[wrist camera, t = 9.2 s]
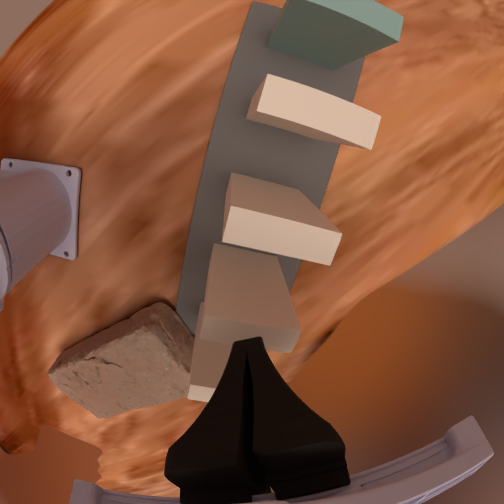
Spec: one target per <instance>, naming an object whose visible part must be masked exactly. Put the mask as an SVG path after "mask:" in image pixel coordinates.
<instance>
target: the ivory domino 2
mask: <svg viewBox="0 0 504 504" xmlns="http://www.w3.org/2000/svg"><path fill="white" fill-rule="evenodd" d="M246 119H247V120H251V121H255V122H259V123H263V124H266V125H270V126H273V127H277V128H280V129H284V130H287V131H290V132H294V133H297V134H300V135H303V136H306V137H309V138H312V139H317V140H322V141H328V142H334V143H339V144H344V145H349V146H354V147H359V148H363V149H368V150H372V147H373V144H374V140H375V137H376V134H377V130H378V127H379V123H380V120H381V116H380V115H377V114H375V113H373V112H371V111H369V110H367V109H364V108H362V107H360V106H358V105H355V104H353V103H351V102H348V101H346V100H343V99H341V98H338V97H336V96H333V95H331V94H328V93H325V92H323V91H320V90H317V89H315V88H312V87H309V86H306V85H303V84H300V83H297V82H294V81H291V80H287V79H284V78H281V77H277V76H274V75H270V74H267V75H266V77H265V78H264V80H263V81H262V83H261V84H260V86H259V88H258V89H257V91H256V92H255V94H254V95H253V97H252V99H251V103H250V106H249V110H248V113H247V117H246Z"/></svg>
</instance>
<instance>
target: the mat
mask: <svg viewBox="0 0 504 504" xmlns="http://www.w3.org/2000/svg"><path fill="white" fill-rule="evenodd" d="M281 11H282V8H279V7H275V6H271V5H267V4H263V3H259V2H255V1H253V2H252V5H251V8H250V10H249V13H248V16H247V19H246V22H245V25H244V27H243V30H242V33H241V36H240V39H239V42H238V45H237V48H236V51H235V54H234V58H233V61H232V64H231V67H230V70H229V74H228V77H227V80H226V84H225V87H224V90H223V94H222V97H221V101H220V104H219V108H218V112H217V115H216V119H215V123H214V127H213V130H212V134H211V138H210V142H209V146H208V150H207V154H206V158H205V162H204V166H203V171H202V175H201V179H200V184H199V188H198V193H197V197H196V202H195V206H194V211H193V216H192V221H191V226H190V231H189V236H188V241H187V246H186V252H185V257H184V263H183V269H182V274H181V280H180V286H179V293H178V299H177V305H176V313H177V315H178V316H179V317H180V318H181V320H182V322H183V324H184V325H185V326H186V327H187V330H189V331H190V333H191V334H193V335H195V333H196V326H197V319H198V314H199V309H200V304H201V302H204V299H205V292H206V284H207V277H208V270H209V263H210V258H211V254H212V249H213V245H214V243H217V244H221V245H226V246H230V247H235V248H240V249H244V250H249V251H253V252H258V253H262V254H267V255H272V256H276V257H277V258H278V261H279V264H280V267H281V270H282V273H283V276H284V279H285V282H286V285H287V288H288V291H289V292H290V289H291V287H292V284H293V281H294V279H295V276H296V273H297V271H298V268H299V265H300V263H301V260H302V259H298V258H293V257H289V256H284V255H280V254H275V253H271V252H266V251H262V250H257V249H253V248H248V247H244V246H239V245H235V244H230V243H225V242H222V234H223V222H224V210H225V199H226V191H227V187H228V184H229V180H230V176H231V172H233V173H237V174H241V175H245V176H249V177H253V178H257V179H261V180H265V181H269V182H273V183H276V184H280V185H284V186H287V187H291V188H294V189H298V190H300V191H301V192H302V193H303V194H304V195H305V196H306V197H307V198H308V199H309V200H310V201H311V202H312V203H313V204H314V205H315V206H316V207H317V208H318V209H320V206H321V203H322V200H323V197H324V194H325V191H326V188H327V185H328V182H329V179H330V176H331V173H332V170H333V166H334V163H335V160H336V157H337V154H338V150H339V147H340V144H339V143H334V142H328V141H322V140H317V139H312V138H309V137H306V136H303V135H300V134H297V133H294V132H290V131H287V130H284V129H280V128H277V127H273V126H270V125H266V124H263V123H259V122H255V121H251V120H247V119H246V117H247V113H248V110H249V106H250V103H251V99H252V97H253V95H254V94H255V92H256V91H257V89H258V88H259V86H260V84H261V83H262V81H263V80H264V78H265V77H266V75H267V74H270V75H274V76H277V77H281V78H284V79H287V80H291V81H294V82H297V83H300V84H303V85H306V86H309V87H312V88H315V89H317V90H320V91H323V92H325V93H328V94H331V95H333V96H336V97H338V98H341V99H343V100H346V101H348V102H351V103H353V99H354V96H355V92H356V89H357V85H358V81H359V77H360V74H361V70H362V66H363V62H364V58H365V56H364V57H362V58H359V59H357V60H355V61H353V62H351V63H349V64H346V65H344V66H342V67H340V68H338V69H336V70H332V69H329V68H326V67H324V66H321V65H318V64H316V63H313V62H310V61H307V60H304V59H301V58H298V57H295V56H292V55H289V54H286V53H282V52H279V51H275V50H272V49H268V48H267V46H268V43H269V40H270V37H271V34H272V31H273V28H274V26H275V24H276V22H277V19H278V17H279V15H280V13H281Z"/></svg>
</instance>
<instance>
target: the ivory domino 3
mask: <svg viewBox="0 0 504 504" xmlns="http://www.w3.org/2000/svg"><path fill="white" fill-rule="evenodd" d="M341 237H342V233H341V232H340V231H339V230H338V229H337V228H336V226H335V225H334V224H333V223H332V222H331V221H330V220H329V219H328V218H327V217H326V216H325V215H324V214H323V213H322V212H321V211H320V210H319V209H318V208H317V207H316V206H315V205H314V204H313V203H312V202H311V201H310V200H309V199H308V198H307V197H306V196H305V195H304V194H303V193H302V192H301V191H300V190H298V189H294V188H291V187H287V186H284V185H280V184H276V183H273V182H269V181H265V180H261V179H257V178H253V177H249V176H245V175H241V174H237V173H233V172H231V176H230V180H229V184H228V187H227V191H226V199H225V210H224V222H223V234H222V242H225V243H230V244H235V245H239V246H244V247H248V248H253V249H257V250H262V251H266V252H271V253H275V254H280V255H284V256H289V257H293V258H298V259H302V260H307V261H311V262H316V263H320V264H325V265H329V266H330V265H331V262H332V260H333V257H334V255H335V252H336V250H337V247H338V245H339V242H340V240H341Z"/></svg>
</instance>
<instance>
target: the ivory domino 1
mask: <svg viewBox="0 0 504 504" xmlns="http://www.w3.org/2000/svg"><path fill="white" fill-rule="evenodd" d="M203 307H204V302H201V304H200V309H199V314H198V319H197V326H196V333H195V341H194V348H193V356H192V363H191V371H190V380H189V388H188V397H187V399H192V400H198V401H204V402H209V400H210V399H211V397H212V395H213V393H214V391H215V389H216V387H217V385H218V383H219V381H220V379H221V377H222V374H223V372H224V369H225V367H226V364H227V361H228V358H229V355H230V352H231V349H232V345H230V344H224V343H219V342H213V341H208V340H202V339H200V331H201V323H202V315H203Z"/></svg>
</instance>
